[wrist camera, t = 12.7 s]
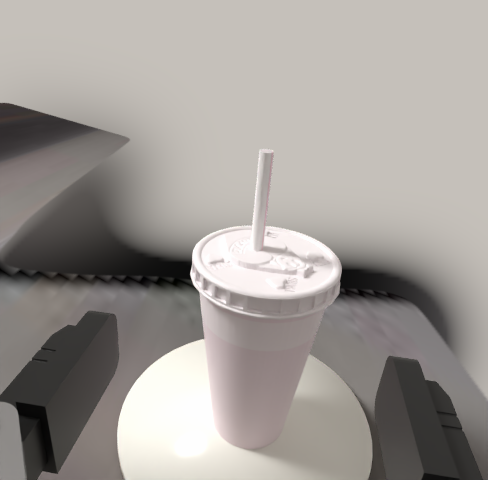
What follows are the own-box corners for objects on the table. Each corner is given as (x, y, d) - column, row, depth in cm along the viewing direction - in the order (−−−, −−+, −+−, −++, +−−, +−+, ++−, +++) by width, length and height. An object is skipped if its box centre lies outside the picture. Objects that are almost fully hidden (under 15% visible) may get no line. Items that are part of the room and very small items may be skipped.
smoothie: (237, 357, 26) (258, 128, 20) (331, 412, 23) (390, 158, 17) (160, 423, 21) (156, 149, 15) (264, 504, 18) (314, 196, 12)
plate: (59, 496, 18) (56, 485, 18) (185, 325, 30) (185, 316, 29) (360, 622, 15) (365, 610, 15) (373, 377, 26) (376, 367, 26)
